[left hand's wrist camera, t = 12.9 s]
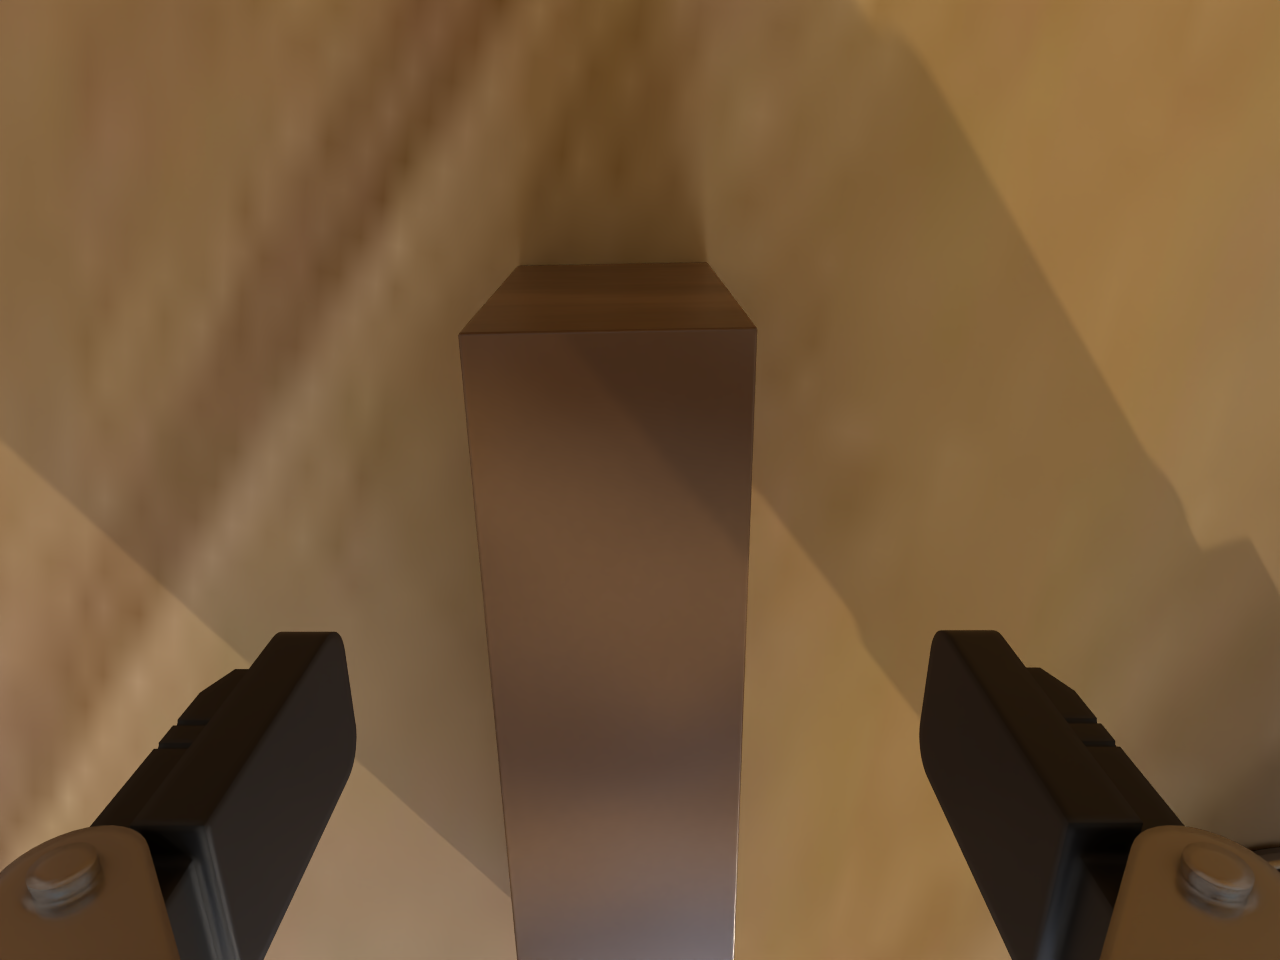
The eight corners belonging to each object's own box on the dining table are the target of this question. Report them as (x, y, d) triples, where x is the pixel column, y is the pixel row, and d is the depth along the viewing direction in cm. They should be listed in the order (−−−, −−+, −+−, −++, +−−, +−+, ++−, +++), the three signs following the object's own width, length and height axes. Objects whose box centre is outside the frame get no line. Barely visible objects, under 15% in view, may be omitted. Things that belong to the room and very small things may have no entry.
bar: (517, 265, 23) (457, 333, 14) (707, 262, 23) (757, 327, 14) (562, 947, 32) (541, 1227, 24) (697, 943, 32) (724, 1221, 24)
